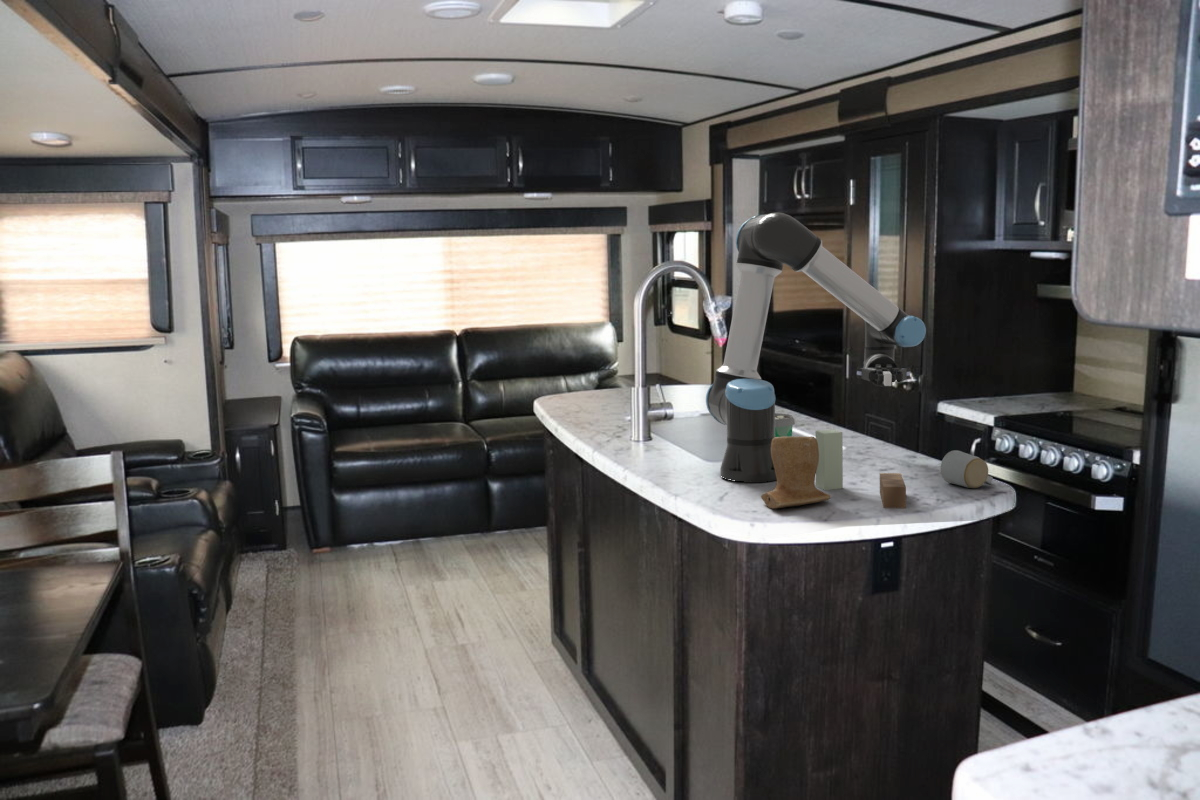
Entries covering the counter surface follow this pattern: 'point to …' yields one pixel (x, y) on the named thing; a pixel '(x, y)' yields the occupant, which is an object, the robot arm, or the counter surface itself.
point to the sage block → (829, 459)
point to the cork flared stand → (794, 472)
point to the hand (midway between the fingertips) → (888, 380)
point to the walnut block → (892, 490)
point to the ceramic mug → (964, 470)
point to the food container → (783, 425)
